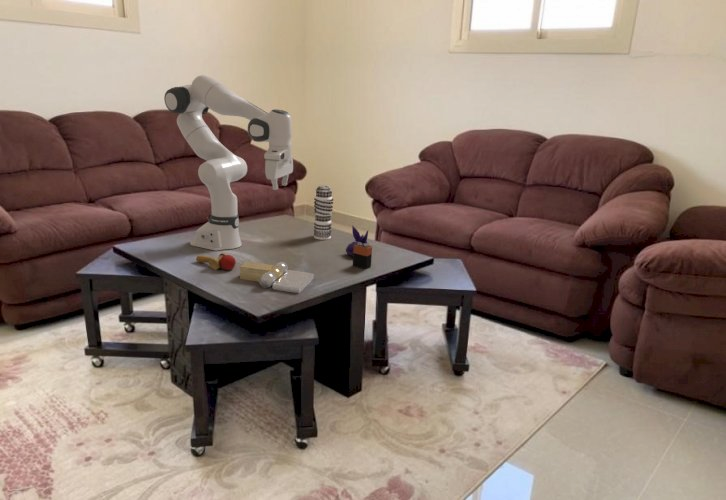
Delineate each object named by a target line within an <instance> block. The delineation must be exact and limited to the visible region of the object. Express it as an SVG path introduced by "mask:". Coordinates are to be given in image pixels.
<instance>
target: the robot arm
mask: <svg viewBox="0 0 726 500" xmlns="http://www.w3.org/2000/svg"><path fill="white" fill-rule="evenodd" d="M164 93H165V94H164V97H163V98H164V104H165V106H166V108H167V110H168V111H169V112H170V113H173V114H178V116H177V118H176V125H177V128H178V129H179V131H180V133H181V134H182V136H183V138H184V139H185V141H186V143H188V145H189V146H190V148H191V150H192V151H193V152H194V154H195V155H196V156H197V157H199V158H201V159H203V160H204V162H202V164H200V165H199V167H198V170H197V173H198V178H199V180H200V181H201V182H202V184H203V185H205V186H206V188H207V190H208V192H209V196H210V204H211V213H209V214H208V215H206V216H205V217H206V220H208V221H207V222H206V223H204V224H203V225H202V226H200V227H199V228H197V229H196V232H195V237H194V238H193V239H192V240H191V241H190V242H189V245H190V246H192V247H197V248H202V249H206V250H211V251H215V252H217V251H222V250H223V251H224V250H233V249H237V248H239V247H241V246H242V245H243V244H242V240H241V237H240V236H241V235H240V229H239V224H240V219H239V218H240V217H239V213H238V197H237V195H236V194H235V193H233V191H232V188H231V183H233V182H237V181H239V180H241V179H242V178H245V176H246V175H247V173H248V165H247V162H246V160H244V159H243V158H242V157H240V156H238V155H236V154H234V152H232V151H231V150H229V149H228V148H227V147H226V146H225V145H223V144H222V143H221V141H219V139H218V138H217V136H215V134H214V133H213V132H212V130H211V129H210V127H209V126H208V124H206V122H205V120H204V119H203V115H206V114H208V112H209V110H211V111H212V112H215V114H218V115H220V116H233V117H239V118H240V117H241V118H245V119H246V120H249V122H248V124H247V134H248V136H249V138H250V139H251V141H253V142H257V143H267V142H268V149H267V150H266V152H264V155H263V156H264V157H263V158H264V159H265V161H264V168H265V170H264V172H265V177H266V179H267V180H270V182H271V185H272V190H273V191H277V190H279V184H278V179H281V178H282V180H281V186H284V187H286V186H287V185H288V179H289V176H290V174H293V172H294V160H293V159H294V158H293V155H292V154H293V153H292V150H293V149H292V148H293V144H292V137H293V122H292V117H291V114H290V113H289V112H288V111H285V110H282V109H277V108H276V109H272V110H270V111H269V112H266V111H265V110H264V109H262V108H260V107H259V106H257V105H255V104H253V103H252V102H250V101H248V100H247V99H245V98H244V97H242V96H240V95H238V94H237V93H235V92H234V91H232V90H231V89H230V88H228V87H227V86H225V84H222V83H220V82H219V81H218V80H217V79H214V78H212V77H210V76H207V75H204V74H202V75H198V76H196V77H195V78H193V81H192V82H191V84H186V85H180V86H174V87H171V88H170V89H167V90H166V92H164Z"/></svg>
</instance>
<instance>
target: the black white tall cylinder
mask: <svg viewBox="0 0 726 500" xmlns="http://www.w3.org/2000/svg"><path fill="white" fill-rule="evenodd" d="M315 191H316V192H315V198H313V199H314V202H313V203H314V205H313V207H314V209H313V210H314V215H315V216H314V223H313V225H314V226H313V227H314V228H313V238H314V239H316V240H321V241H322V240H331V238H332V215H333V213H332V211H333V208H334V206H333V204H334V202H333V201H334V198H333V189H332V188H331V186H328V185H318V186H317V188H315Z"/></svg>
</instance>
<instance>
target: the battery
mask: <svg viewBox="0 0 726 500" xmlns="http://www.w3.org/2000/svg"><path fill="white" fill-rule="evenodd" d="M372 254H373V245H370V244H369V243H367V244H361V242H358V244H356V245H354V250H353V256H352V266H354V267H358V268H361V269H364V270H366V269H368V268H371V266H372Z"/></svg>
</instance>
